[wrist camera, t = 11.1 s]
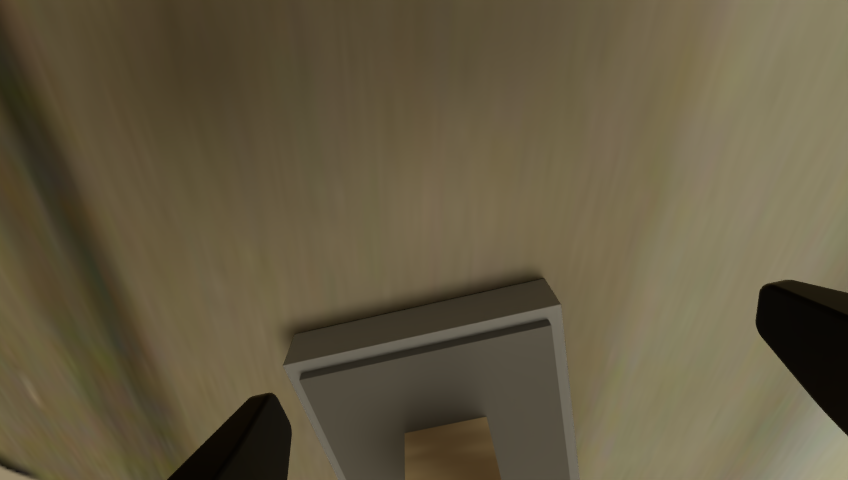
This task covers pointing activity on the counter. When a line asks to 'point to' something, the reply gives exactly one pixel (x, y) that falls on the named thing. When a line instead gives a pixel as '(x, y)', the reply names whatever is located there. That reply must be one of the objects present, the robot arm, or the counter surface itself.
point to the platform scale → (442, 382)
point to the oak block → (451, 452)
